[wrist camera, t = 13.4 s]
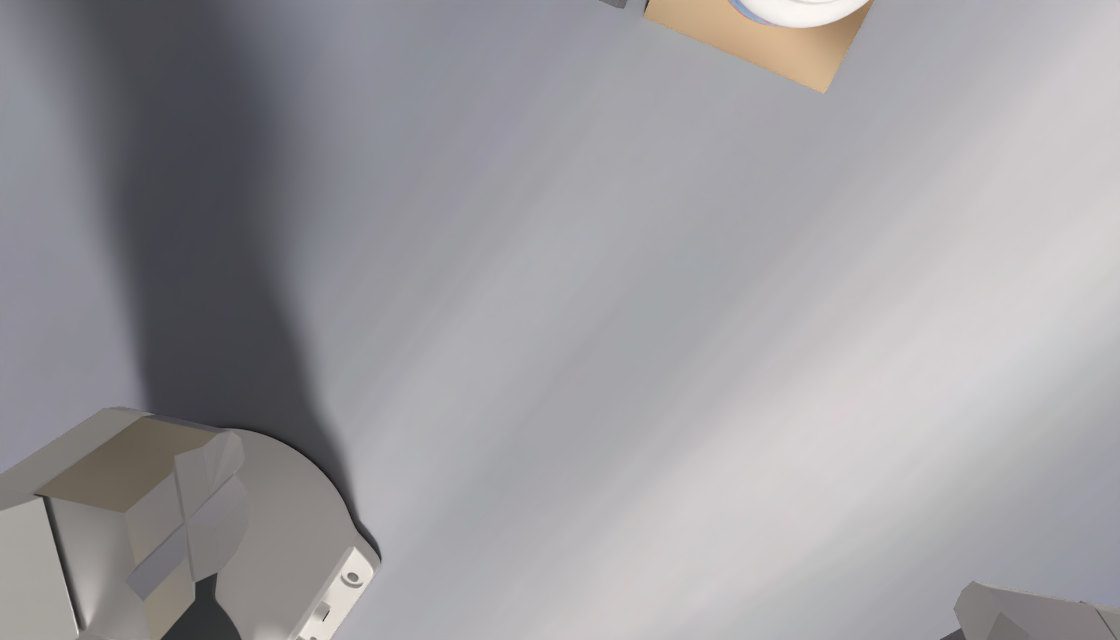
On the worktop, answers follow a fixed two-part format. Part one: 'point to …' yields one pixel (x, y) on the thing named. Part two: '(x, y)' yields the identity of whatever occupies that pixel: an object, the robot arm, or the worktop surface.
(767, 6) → the pill bottle
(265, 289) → the worktop surface
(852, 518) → the worktop surface
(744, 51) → the cork pad
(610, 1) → the grey square bottle holder
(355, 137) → the worktop surface
